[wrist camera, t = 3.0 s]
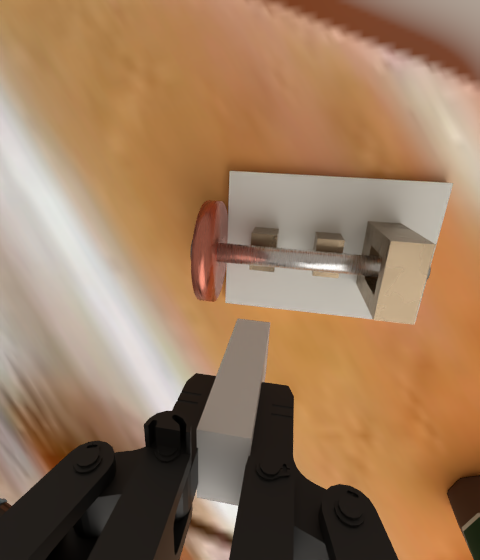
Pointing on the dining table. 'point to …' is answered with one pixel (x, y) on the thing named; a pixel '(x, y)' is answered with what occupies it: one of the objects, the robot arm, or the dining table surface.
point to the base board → (320, 218)
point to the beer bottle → (467, 510)
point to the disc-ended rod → (257, 255)
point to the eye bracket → (393, 271)
